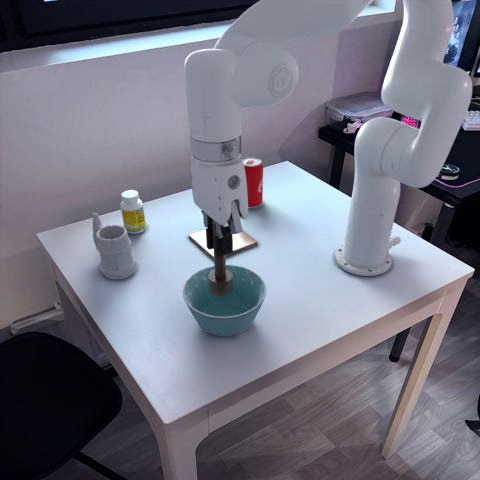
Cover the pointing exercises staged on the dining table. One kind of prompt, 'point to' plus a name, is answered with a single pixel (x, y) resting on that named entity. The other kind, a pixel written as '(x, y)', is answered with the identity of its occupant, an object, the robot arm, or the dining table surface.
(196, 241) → the plate
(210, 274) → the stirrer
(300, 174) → the dining table surface
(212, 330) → the bowl
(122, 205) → the supplement bottle
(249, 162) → the beverage can
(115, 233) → the mug
